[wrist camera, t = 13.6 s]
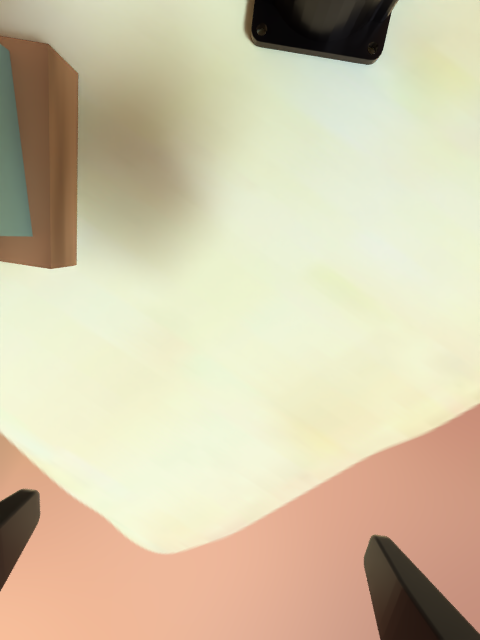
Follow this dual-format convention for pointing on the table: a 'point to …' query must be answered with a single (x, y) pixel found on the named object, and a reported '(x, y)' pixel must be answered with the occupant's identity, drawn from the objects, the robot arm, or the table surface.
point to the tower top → (11, 159)
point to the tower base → (45, 154)
